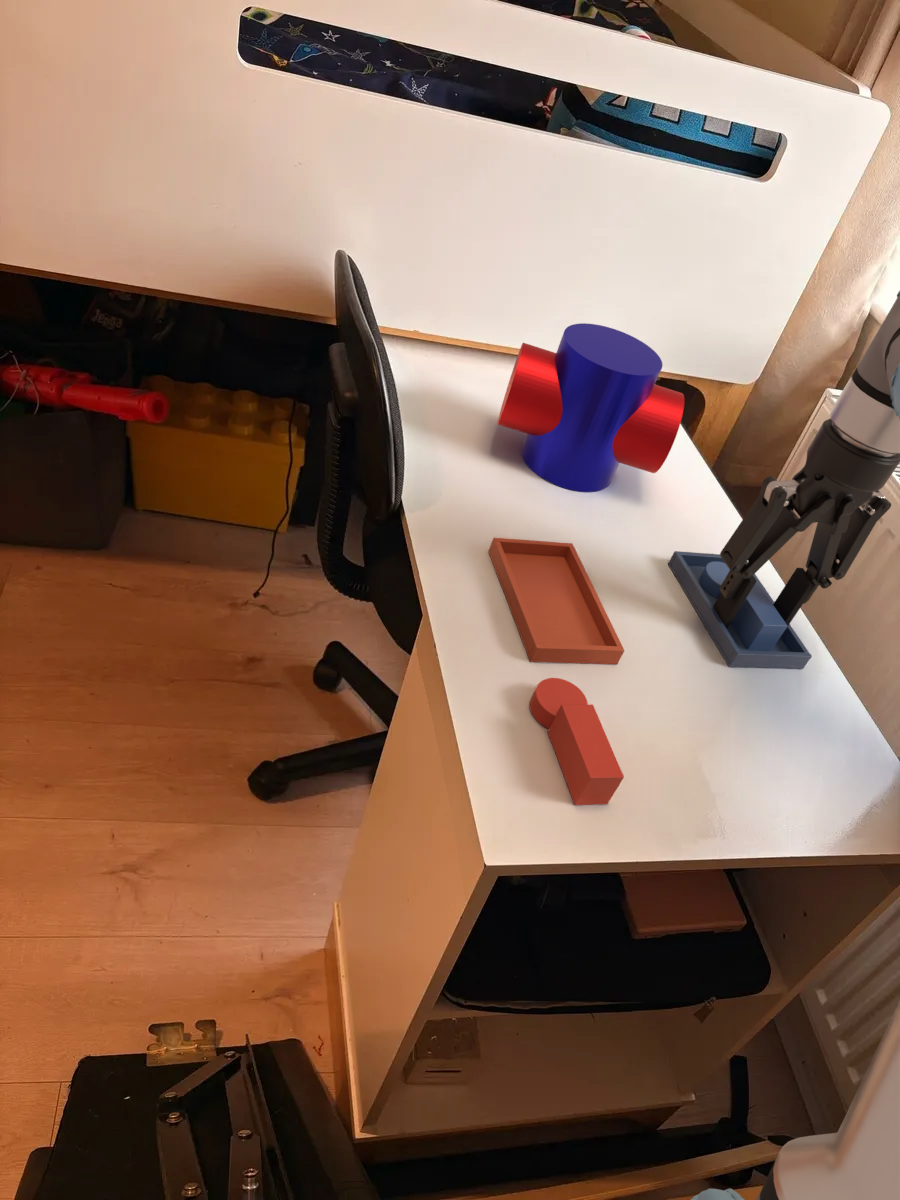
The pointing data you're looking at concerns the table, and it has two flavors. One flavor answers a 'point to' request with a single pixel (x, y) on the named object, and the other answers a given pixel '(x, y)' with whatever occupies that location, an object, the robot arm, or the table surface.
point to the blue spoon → (747, 611)
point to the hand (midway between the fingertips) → (748, 620)
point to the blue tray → (735, 653)
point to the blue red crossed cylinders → (591, 407)
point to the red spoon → (577, 741)
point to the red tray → (554, 603)
